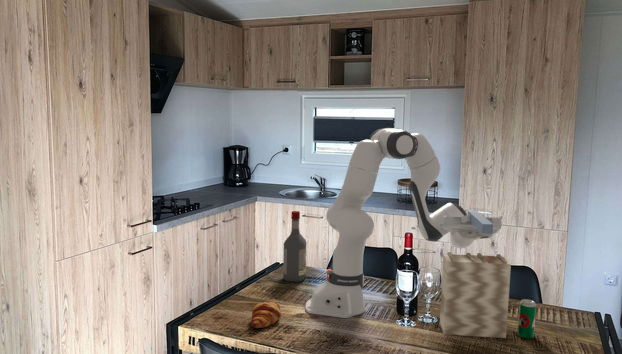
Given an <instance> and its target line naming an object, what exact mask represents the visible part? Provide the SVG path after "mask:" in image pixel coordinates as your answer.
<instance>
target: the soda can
mask: <svg viewBox="0 0 622 354" xmlns="http://www.w3.org/2000/svg"><path fill="white" fill-rule="evenodd" d="M536 313H537V304H536V302H535V301H534V300H532V299H526V298H522V299H521V300H520V302H519V308H518V319H517V335H518V336H519V337H520V338H523V339H527V340H531V339H533V338H534V337H535V327H536Z"/></svg>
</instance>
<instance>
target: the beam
mask: <svg viewBox="0 0 622 354" xmlns="http://www.w3.org/2000/svg"><path fill="white" fill-rule="evenodd" d="M467 215H471V220H470V222H471V223H472V224H473V225H474V226H475V227H476V228H477V229H478V230H479V231H480V232H481V233H487V234H493V224H492V223H491V222H490V221H488V220H487V219H486V218H485V217H486V216H485V217H484V216H482V215H483V214H481V213H480V212H479V211H478V210H467ZM493 235H494V234H493Z"/></svg>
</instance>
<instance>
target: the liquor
mask: <svg viewBox="0 0 622 354" xmlns="http://www.w3.org/2000/svg"><path fill="white" fill-rule="evenodd" d="M300 217H301V212H300V211H298V210H293V211H291V218H290V219H291V231H290V234H289V235H288V237H287V238H286V239H285V241H284V243H283V257H282V259H283V267H282V268H283V272H282V274H283V275H282V278H283V280H284V281H286V282H293V281H294V282H295V283H298V282H299V283H300V282H303V281H304V279H305V278H306V275H307V240H306V239H305V237H304V236H303V235H302V234H301V233H300V232H301V231H300Z"/></svg>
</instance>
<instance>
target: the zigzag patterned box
mask: <svg viewBox="0 0 622 354" xmlns="http://www.w3.org/2000/svg"><path fill="white" fill-rule="evenodd" d="M442 258H443V259H442V274H441V275H442V277H441V291H440V293H441V297H440V298H441V299H440V310H439V311H440V313H439V315H440V316H439V326H440V328H441V331H442V334H443V335H451V336H452V335H453V336H464V337H465V336H466V337H469V336H470V337H479V338H480V337H483V338H497V339H506V338H507V327H508V314H509V301H510V300H509V299H510V284H511V270H512V269H511V268H512V267H511V266H512V264H511V263H510V262H509V261H508V260H507V259H506V257H504V256H502V255H501V254H498V253H497V254H495V255H483V254H481V253H476V255H475V254H473V255H472V254H471V253H470V252H466V253H465V254H455V253H454V254H453V253H452V252H450V251H447V253H443V257H442Z"/></svg>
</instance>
